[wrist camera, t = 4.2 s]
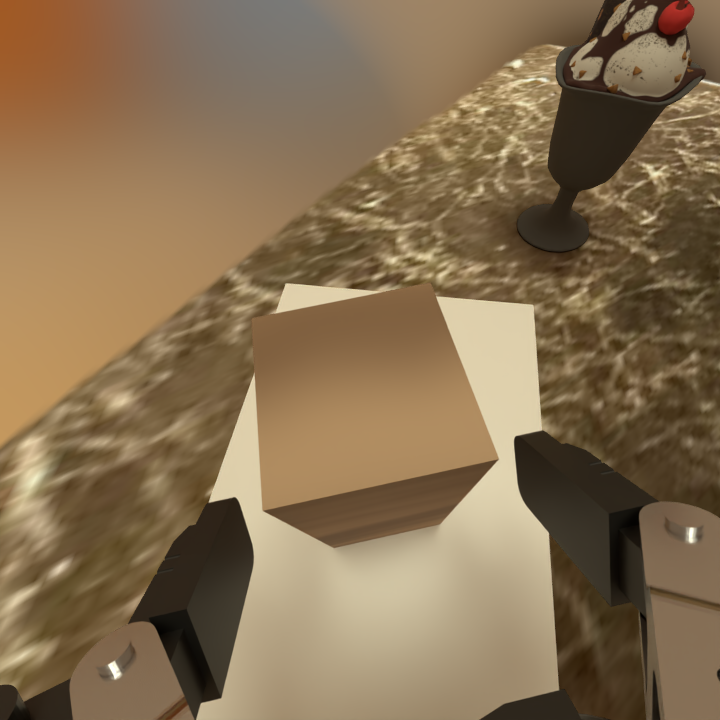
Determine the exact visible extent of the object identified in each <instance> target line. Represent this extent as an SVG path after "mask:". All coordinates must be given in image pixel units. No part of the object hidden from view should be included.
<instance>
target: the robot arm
mask: <svg viewBox="0 0 720 720" xmlns="http://www.w3.org/2000/svg"><path fill="white" fill-rule="evenodd" d="M514 452H515V462H516V473H517V483H518V488H519V492H520V495H521V497H522V499H523V501H524V503H525V505H526V506H527V507H528V509H529V510H530V511H531V512H532V513H533V515H534V516H535V517H536V518H537V519H538V520H539V522H540V523H541V524H542V525H543V526H544V528H545V529H546V530H547V531H548V532H549V534H550V535H551V536H552V537H553V538H554V539H555V541H556V542H557V543H558V544H559V545H560V547H561V548H562V549H563V550H564V551H565V553H566V554H567V555H568V556H569V557H570V559H571V560H572V561H573V562H574V563H575V564H576V566H577V567H578V568H579V569H580V570H581V572H582V573H583V574H584V575H585V576H586V578H587V579H588V580H589V581H590V582H591V584H592V585H593V586H594V587H595V588H596V589H597V591H598V592H599V593H600V594H601V595H602V597H603V598H604V599H605V600H606V601H607V603H608V604H609V605H610V606H611V607H612V606H616V605H620V604H624V603H629V602H632V603H633V604H634V605H635V606H636V608H637V609H638V610H639V629H640V642H641V654H642V667H643V680H644V693H645V705H646V720H720V518H718V517H717V516H715V515H713V514H711V513H710V512H708V511H705V510H703V509H700V508H698V507H695V506H691V505H687V504H683V503H677V502H659V501H658V500H656V499H655V498H653V497H652V496H650V495H649V494H648V493H646V492H645V491H643V490H642V489H640V488H639V487H638V486H636V485H635V484H633V483H632V482H630V481H629V480H628V479H626V478H625V477H623V476H622V475H621V474H619V473H618V472H614V470H613V469H612V468H611V467H609V466H608V465H606V464H605V463H602V462H601V460H599V459H598V458H596V457H595V456H593V455H592V454H591V453H589V452H588V451H586V450H584V449H581V448H578V447H576V446H573V445H570V444H567V443H565V444H561V443H560V442H558V441H557V440H556V439H554V438H553V437H552V436H550V435H549V434H548V433H546V432H545V431H536V432H532V433H527V434H523V435H518V436H516V437H515V438H514ZM253 565H254V551H253V545H252V541H251V538H250V535H249V532H248V528H247V525H246V522H245V519H244V516H243V512H242V509H241V506H240V503H239V501H238V499H237V498H236V497H232V498H228V499H223V500H219V501H214V502H210V503H207V504H206V505H205V507H204V509H203V511H202V513H201V515H200V517H199V519H198V521H197V523H196V525H192V526H189V527H188V528H187V529H186V530H185V531H184V532H183V533H182V534H181V535H180V536H179V537H178V538H177V539H176V540H175V541H174V542H173V544H172V545H171V547H170V549H169V551H168V553H167V554H166V556H165V561H163V562H162V563H161V565H160V567H159V569H158V571H157V575H155V576H154V578H153V580H152V581H151V583H150V585H149V587H148V589H147V590H146V592H145V594H144V596H143V598H142V599H141V601H140V603H139V605H138V607H137V608H136V610H135V612H134V614H133V616H132V617H131V619H130V621H129V623H128V625H125V626H123V627H121V628H119V629H117V630H115V631H113V632H112V633H110V634H108V635H107V636H106V637H104V638H103V639H102V640H100V641H99V642H98V643H97V644H96V645H95V646H94V647H93V648H92V649H91V650H89V652H88V653H87V654H86V655H85V656H84V657H83V659H82V660H81V661H80V663H79V664H78V666H77V667H76V669H75V671H74V673H73V675H72V677H71V679H69V680H67V681H65V682H63V683H61V684H59V685H57V686H55V687H53V688H51V689H49V690H47V691H45V692H43V693H41V694H39V695H37V696H35V697H33V698H31V699H29V700H27V701H25V702H24V701H23V700H22V698H21V696H20V694H19V693H18V691H17V689H16V688H15V687H14V686H12V685H0V720H196V719H197V715H198V712H199V708H200V705H201V703H204V702H208V701H213V700H217V699H221V698H222V694H223V690H224V685H225V681H226V677H227V673H228V669H229V665H230V661H231V657H232V652H233V648H234V644H235V640H236V636H237V632H238V628H239V624H240V620H241V615H242V611H243V607H244V603H245V599H246V595H247V591H248V587H249V583H250V578H251V574H252V570H253ZM480 720H609V719H606V718H602V717H597V716H593V715H588V714H578V712H577V710H576V708H575V707H574V705H573V703H572V701H571V700H570V698H569V696H568V694H567V693H566V691H565V689H562V690H558V691H554V692H550V693H546V694H541V695H537V696H533V697H529V698H525V699H521V700H517V701H513V702H509V703H505V704H503V705H501V706H500V707H498V708H497V709H495V710H494V711H492V712H490V713H489V714H487V715H486V716H484V717H483V718H481V719H480Z"/></svg>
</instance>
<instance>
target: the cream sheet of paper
mask: <svg viewBox="0 0 720 720" xmlns="http://www.w3.org/2000/svg"><path fill="white" fill-rule="evenodd" d="M376 293H381V292H379V291H367V290H356V289H344V288H333V287H321V286H310V285H298V284H287V283H286V285H285V288H284V291H283V293H282V296H281V299H280V302H279V305H278V308H277V310H276V313H281V312H286V311H291V310H296V309H301V308H306V307H311V306H316V305H321V304H326V303H331V302H336V301H341V300H346V299H351V298H356V297H361V296H366V295H371V294H376ZM436 298H437V301H438V303H439V306H440V308H441V311H442V313H443V316H444V318H445V321H446V324H447V326H448V329H449V331H450V334H451V336H452V339H453V342H454V344H455V347H456V349H457V352H458V354H459V357H460V360H461V362H462V365H463V367H464V370H465V372H466V375H467V378H468V380H469V383H470V385H471V388H472V390H473V393H474V396H475V398H476V401H477V403H478V406H479V408H480V411H481V414H482V416H483V419H484V421H485V424H486V426H487V429H488V431H489V434H490V437H491V439H492V442H493V444H494V447H495V449H496V452H497V455H498V457H499V460H498V461H497V462H496V463H495V464H494V465H493V467H492V468H491V469H490V470H489V471H488V472H487V473H486V474H485V475H484V476H483V478H482V479H481V480H480V481H479V482H478V483H477V484H476V485H475V486H474V487H473V489H472V490H471V491H470V492H469V493H468V494H467V495H466V496H465V497H464V499H463V500H462V501H461V502H460V503H459V504H458V505H457V506H456V507H455V508H454V510H453V511H452V512H451V513H450V514H449V515H448V516H447V517H446V518H445V519H444V521H443V522H442V523H441V524H440V525H435V526H431V527H426V528H422V529H417V530H413V531H408V532H404V533H399V534H395V535H390V536H386V537H381V538H377V539H372V540H368V541H364V542H359V543H355V544H350V545H346V546H341V547H337V548H332V547H331V546H329V545H327V544H325V543H323V542H321V541H319V540H317V539H315V538H313V537H311V536H310V535H308V534H306V533H304V532H302V531H300V530H298V529H296V528H294V527H292V526H290V525H289V524H287V523H285V522H283V521H281V520H279V519H277V518H275V517H273V516H271V515H269V514H268V513H266V512H264V511H262V495H261V478H260V460H259V443H258V425H257V408H256V390H255V373H254V376H253V378H252V381H251V384H250V387H249V390H248V393H247V395H246V398H245V401H244V404H243V407H242V410H241V412H240V415H239V418H238V421H237V424H236V427H235V429H234V432H233V435H232V438H231V441H230V444H229V446H228V449H227V452H226V455H225V458H224V461H223V463H222V466H221V469H220V472H219V475H218V478H217V480H216V483H215V486H214V489H213V492H212V495H211V497H210V500H209V503H210V502H214V501H219V500H223V499H228V498H232V497H236V498H237V499H238V501H239V503H240V506H241V509H242V512H243V516H244V519H245V522H246V525H247V528H248V532H249V535H250V538H251V541H252V545H253V551H254V565H253V570H252V574H251V578H250V583H249V587H248V591H247V595H246V599H245V603H244V607H243V611H242V615H241V620H240V624H239V628H238V632H237V636H236V640H235V644H234V648H233V652H232V657H231V661H230V665H229V669H228V673H227V677H226V681H225V685H224V690H223V694H222V698H221V699H217V700H213V701H208V702H204V703H201V705H200V708H199V712H198V715H197V719H196V720H480V719H481V718H483V717H484V716H486V715H487V714H489V713H490V712H492V711H494V710H495V709H497V708H498V707H500V706H501V705H503V704H505V703H509V702H513V701H517V700H521V699H525V698H529V697H533V696H537V695H541V694H546V693H550V692H554V691H558V690H559V682H558V667H557V652H556V637H555V622H554V607H553V592H552V577H551V562H550V547H549V532H548V531H547V530H546V529H545V528H544V526H543V525H542V524H541V523H540V522H539V520H538V519H537V518H536V517H535V516H534V515H533V513H532V512H531V511H530V510H529V509H528V507H527V506H526V505H525V503H524V501H523V499H522V497H521V495H520V492H519V488H518V483H517V473H516V462H515V452H514V438H515V437H516V436H518V435H523V434H527V433H532V432H536V431H542V427H541V412H540V397H539V382H538V367H537V352H536V337H535V322H534V307H533V305H528V304H516V303H505V302H493V301H482V300H470V299H459V298H447V297H436ZM276 313H275V314H276Z"/></svg>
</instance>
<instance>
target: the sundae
mask: <svg viewBox="0 0 720 720" xmlns="http://www.w3.org/2000/svg"><path fill="white" fill-rule="evenodd" d="M693 15H694V8H693V6H692V5H691V4H690V2H689V1H688V0H605V1H604V4H603V6H602V8H601V10H600V12H599V15H598V17H597V19H596V21H595V24H594V26H593V28H592V31H591V33H590V35H589V37H588V39H587V40H586V41H585V43H583V44H582V45H575V46H570V47H567V48H564V49H563V50H562V51H561V52H560V54H559V56H558V57H557V60H556V78H557V81H558V84H559V85H560V86H561V87H562V92H561V97H560V102H559V107H558V111H557V116H556V120H555V124H554V129H553V133H552V137H551V142H550V149H549V157H548V169H549V171H550V173H551V175H552V177H553V178H554V180H555V181H556V182H557V183H558V184H559V185H560V187H561V188H560V191H559V193H558V196H557V198H556V200H555V202H554V203H553V204H542V205H536V206H533V207H530V208H529V209H527V210H526V211H524V212H523V213H522V214H521V215H520V216H519V218H518V220H517V228H518V231H519V233H520V235H521V236H522V237H523V238H524V240H526V241H527V242H528V243H530V244H531V245H533V246H535V247H537V248H540V249H543V250H546V251H554V252H563V251H569V250H573V249H576V248H578V247H579V246H581V245H582V244H584V243H585V242H586V240H587V238H588V235H589V228H588V224H587V222H586V221H585V219H584V218H583V217H582V216H581V215H580V214H578V213H577V212H575V211H573V210H571V207H572V204H573V202H574V200H575V198H576V196H577V194H578V192H579V191H582V190H586V189H591V188H593V187H596V186H598V185H600V184H602V183H605V182H606V181H608V180H609V179H610V178H611V177H612V176H613V175H614V174H615V173H616V171H617V170H618V169H619V168H620V167H621V166H622V164H623V163H624V162H625V161H626V160H627V158H628V157H629V156H630V154H631V153H632V152H633V150H634V149H635V147H636V146H637V145H638V143H639V142H640V140H641V139H642V138H643V136H644V135H645V134H646V132H647V131H648V129H649V128H650V127H651V125H652V124H653V123H654V121H655V120H656V119H657V117H658V116H659V115H660V114H661V112H662V111H663V110H664V108H665V107H666V106H668V105H670V104H672V103H674V102H676V101H678V100H680V99H681V98H682V97H684V96H685V95H686V94H687V93H689V92H690V91H691V90H692V89H693V88H694V87H695V86H696V85H698V84H699V82H700V81H701V80H703V78H704V77H705V75H706V72H705V70H704V69H702V68H701V67H700V66H699V65H697V64H695V63H693V62H692V60H691V59H690V58H689V52H690V44H689V40H688V36H687V28H688V23H689V22H690V21H691V20H692V18H693Z"/></svg>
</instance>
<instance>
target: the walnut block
mask: <svg viewBox="0 0 720 720" xmlns="http://www.w3.org/2000/svg"><path fill="white" fill-rule="evenodd" d="M251 320H252V338H253V355H254V373H255V390H256V408H257V425H258V443H259V460H260V478H261V495H262V511H264V512H266V513H268V514H269V515H271V516H273V517H275V518H277V519H279V520H281V521H283V522H285V523H287V524H289V525H290V526H292V527H294V528H296V529H298V530H300V531H302V532H304V533H306V534H308V535H310V536H311V537H313V538H315V539H317V540H319V541H321V542H323V543H325V544H327V545H329V546H331V547H332V548H337V547H341V546H346V545H350V544H355V543H359V542H364V541H368V540H372V539H377V538H381V537H386V536H390V535H395V534H399V533H404V532H408V531H413V530H417V529H422V528H426V527H431V526H435V525H440V524H441V523H442V522H443V521H444V519H445V518H446V517H447V516H448V515H449V514H450V513H451V512H452V511H453V510H454V508H455V507H456V506H457V505H458V504H459V503H460V502H461V501H462V500H463V499H464V497H465V496H466V495H467V494H468V493H469V492H470V491H471V490H472V489H473V487H474V486H475V485H476V484H477V483H478V482H479V481H480V480H481V479H482V478H483V476H484V475H485V474H486V473H487V472H488V471H489V470H490V469H491V468H492V467H493V465H494V464H495V463H496V462H497V461H498V460H499V457H498V455H497V452H496V449H495V447H494V444H493V442H492V439H491V437H490V434H489V431H488V429H487V426H486V424H485V421H484V419H483V416H482V414H481V411H480V408H479V406H478V403H477V401H476V398H475V396H474V393H473V390H472V388H471V385H470V383H469V380H468V378H467V375H466V372H465V370H464V367H463V365H462V362H461V360H460V357H459V354H458V352H457V349H456V347H455V344H454V342H453V339H452V336H451V334H450V331H449V329H448V326H447V324H446V321H445V318H444V316H443V313H442V311H441V308H440V306H439V303H438V301H437V298H436V295H435V293H434V290H433V288H432V285H431V283H426V284H421V285H416V286H411V287H406V288H401V289H396V290H391V291H386V292H381V293H376V294H371V295H366V296H361V297H356V298H351V299H346V300H341V301H336V302H331V303H326V304H321V305H316V306H311V307H306V308H301V309H296V310H291V311H286V312H281V313H276V314H270V315H265V316H260V317H255V318H251Z"/></svg>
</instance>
